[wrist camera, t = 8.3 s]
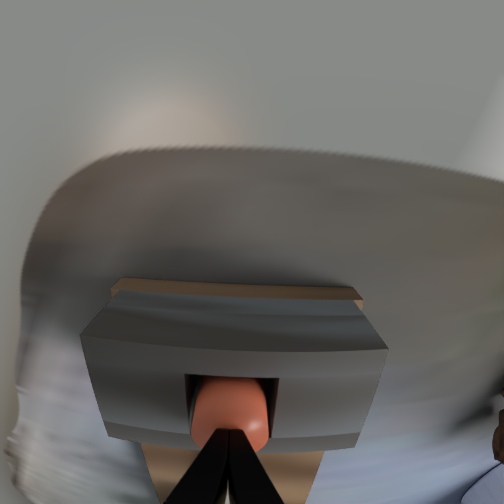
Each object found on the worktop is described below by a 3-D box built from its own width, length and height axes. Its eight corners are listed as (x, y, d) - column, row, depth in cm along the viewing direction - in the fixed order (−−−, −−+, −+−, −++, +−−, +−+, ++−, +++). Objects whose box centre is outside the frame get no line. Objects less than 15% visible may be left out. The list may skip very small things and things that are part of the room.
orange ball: (262, 410, 11) (265, 458, 9) (201, 408, 11) (193, 454, 9) (267, 362, 11) (271, 411, 8) (198, 359, 11) (187, 407, 8)
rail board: (290, 520, 21) (296, 566, 16) (171, 515, 21) (164, 561, 15) (353, 287, 15) (401, 347, 9) (122, 277, 14) (67, 332, 9)
